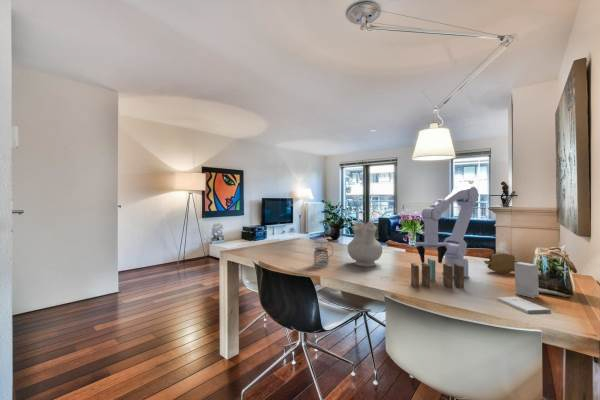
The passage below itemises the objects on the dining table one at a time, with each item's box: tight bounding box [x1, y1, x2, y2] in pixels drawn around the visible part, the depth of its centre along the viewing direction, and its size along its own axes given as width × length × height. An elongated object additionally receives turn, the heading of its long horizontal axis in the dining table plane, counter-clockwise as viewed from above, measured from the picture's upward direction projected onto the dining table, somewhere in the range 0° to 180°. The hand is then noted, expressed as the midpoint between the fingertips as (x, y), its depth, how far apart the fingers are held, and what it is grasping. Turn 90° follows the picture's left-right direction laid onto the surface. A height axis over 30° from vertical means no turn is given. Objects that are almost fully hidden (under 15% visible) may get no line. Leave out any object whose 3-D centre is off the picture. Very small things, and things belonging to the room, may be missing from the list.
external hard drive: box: [496, 296, 552, 314], centre depth 96 cm, size 2×8×12 cm
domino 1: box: [410, 262, 420, 288], centre depth 119 cm, size 2×5×9 cm, turn 176°
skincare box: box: [514, 261, 540, 299], centre depth 106 cm, size 6×4×12 cm
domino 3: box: [427, 257, 436, 281], centre depth 129 cm, size 2×5×9 cm, turn 176°
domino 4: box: [442, 263, 454, 289], centre depth 118 cm, size 2×5×9 cm, turn 176°
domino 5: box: [453, 264, 465, 289], centre depth 118 cm, size 2×5×9 cm, turn 176°
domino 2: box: [421, 262, 431, 289], centre depth 119 cm, size 2×5×9 cm, turn 176°
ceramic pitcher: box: [347, 220, 383, 268], centre depth 158 cm, size 22×20×25 cm
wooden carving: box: [483, 252, 518, 274], centre depth 140 cm, size 16×5×10 cm, turn 80°
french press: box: [312, 220, 334, 269], centre depth 156 cm, size 10×12×25 cm
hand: (431, 262), depth 129 cm, fingers open, 7 cm apart
